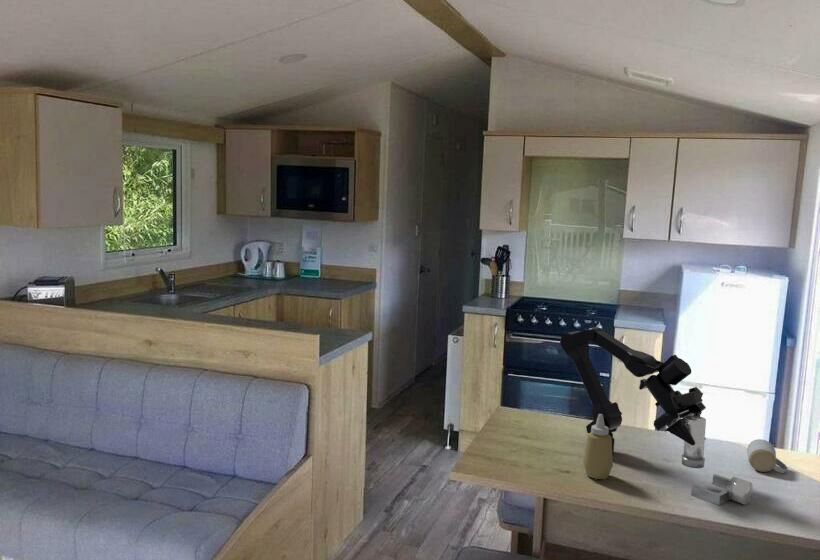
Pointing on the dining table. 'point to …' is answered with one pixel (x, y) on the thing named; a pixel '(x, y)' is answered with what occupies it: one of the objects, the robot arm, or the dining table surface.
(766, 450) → the ceramic mug
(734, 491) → the duct saddle
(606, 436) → the squeeze bottle
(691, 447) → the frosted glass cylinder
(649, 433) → the dining table surface
